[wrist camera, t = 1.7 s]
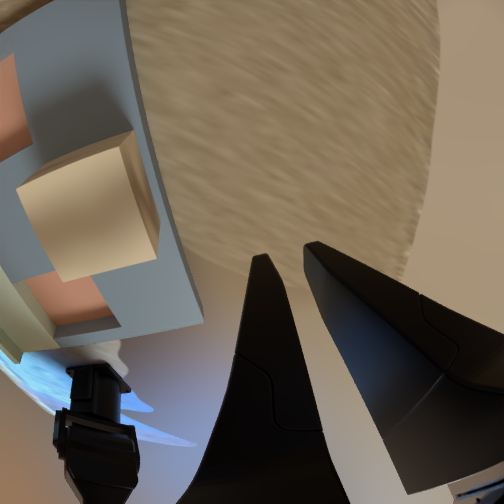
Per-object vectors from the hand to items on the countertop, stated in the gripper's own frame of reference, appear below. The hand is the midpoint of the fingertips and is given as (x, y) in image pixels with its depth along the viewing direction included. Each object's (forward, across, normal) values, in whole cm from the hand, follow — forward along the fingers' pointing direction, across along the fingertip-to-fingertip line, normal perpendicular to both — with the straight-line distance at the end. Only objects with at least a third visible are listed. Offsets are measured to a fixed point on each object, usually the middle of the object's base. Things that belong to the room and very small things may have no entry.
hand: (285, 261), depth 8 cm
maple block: (+10, +8, 0) cm, 13 cm away
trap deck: (+12, +16, 0) cm, 20 cm away
